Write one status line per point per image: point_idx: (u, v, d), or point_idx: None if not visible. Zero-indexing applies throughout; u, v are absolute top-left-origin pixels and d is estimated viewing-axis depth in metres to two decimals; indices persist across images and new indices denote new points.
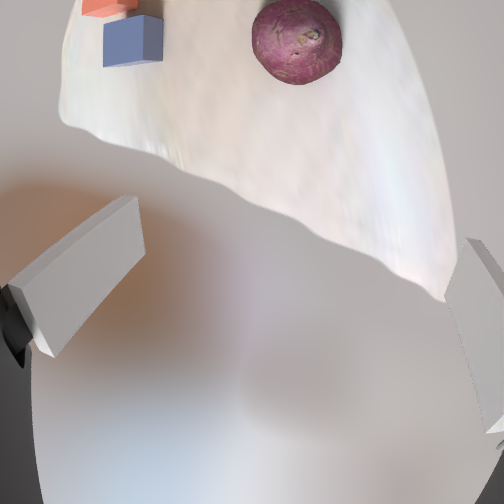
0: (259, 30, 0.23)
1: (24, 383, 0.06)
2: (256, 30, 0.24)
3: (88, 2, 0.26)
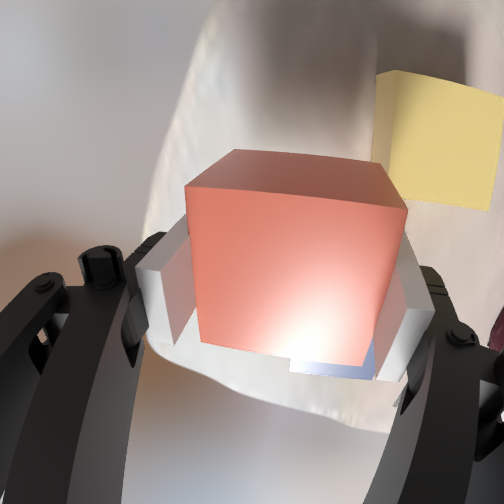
0: None
1: (131, 385, 0.07)
2: None
3: (228, 315, 0.11)
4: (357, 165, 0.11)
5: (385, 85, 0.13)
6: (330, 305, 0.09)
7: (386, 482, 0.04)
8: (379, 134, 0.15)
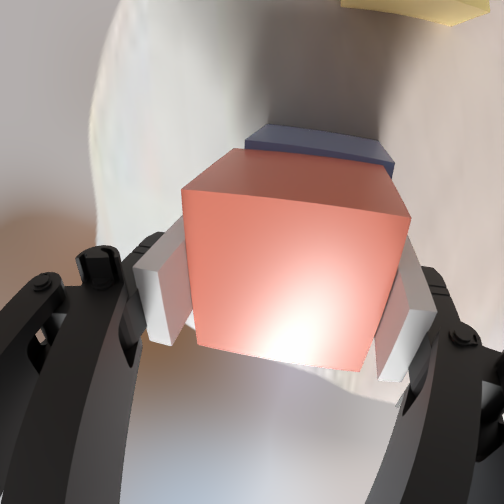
0: None
1: (128, 384, 0.07)
2: None
3: (225, 319, 0.10)
4: (359, 167, 0.11)
5: None
6: (329, 311, 0.09)
7: (388, 482, 0.04)
8: None
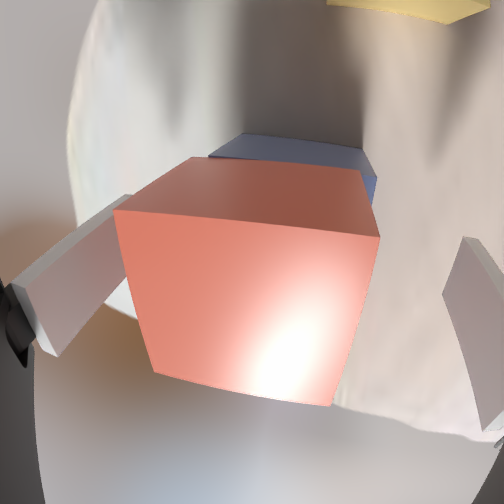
0: None
1: (26, 382, 0.06)
2: None
3: (176, 348, 0.09)
4: (329, 174, 0.10)
5: None
6: (287, 345, 0.08)
7: None
8: None
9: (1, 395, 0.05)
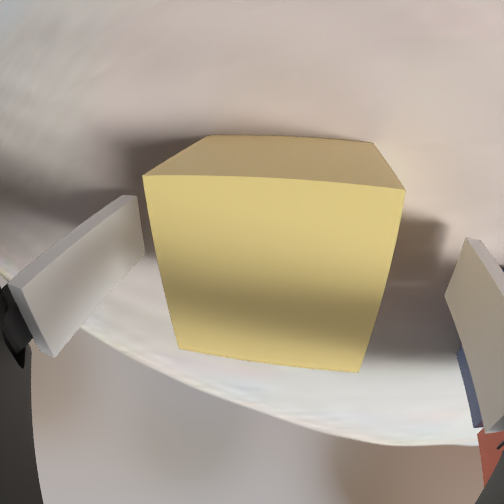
0: None
1: (24, 383, 0.06)
2: None
3: None
4: None
5: None
6: None
7: None
8: None
9: None
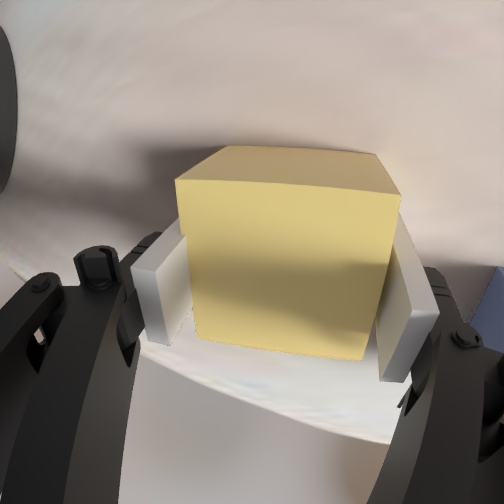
0: None
1: (127, 384, 0.07)
2: None
3: None
4: None
5: None
6: None
7: (390, 483, 0.04)
8: None
9: (100, 403, 0.05)
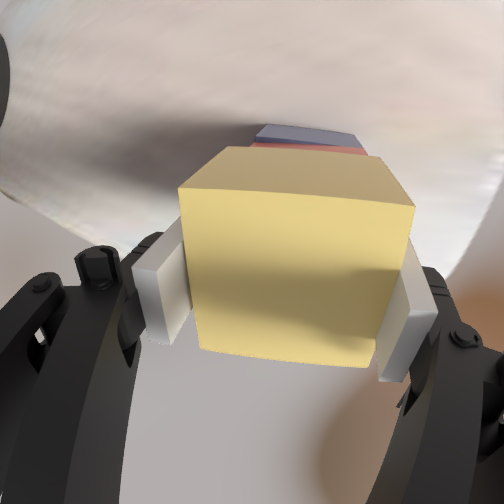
0: None
1: (128, 384, 0.07)
2: None
3: None
4: None
5: None
6: None
7: (389, 483, 0.04)
8: None
9: (100, 403, 0.05)
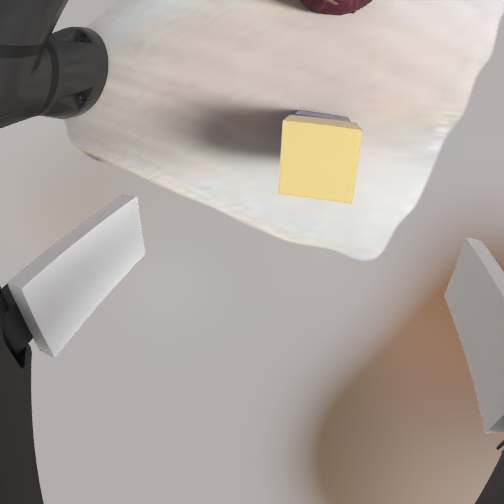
0: None
1: (24, 383, 0.06)
2: None
3: None
4: None
5: None
6: None
7: None
8: None
9: None
